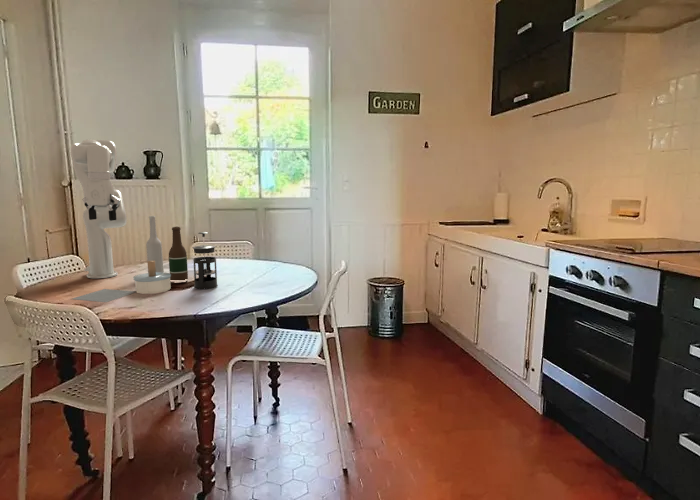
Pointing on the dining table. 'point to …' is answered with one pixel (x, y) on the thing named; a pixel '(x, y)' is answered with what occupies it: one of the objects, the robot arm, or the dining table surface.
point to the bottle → (154, 247)
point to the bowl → (153, 286)
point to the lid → (151, 274)
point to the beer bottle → (177, 257)
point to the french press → (205, 281)
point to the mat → (104, 295)
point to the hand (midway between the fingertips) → (102, 219)
